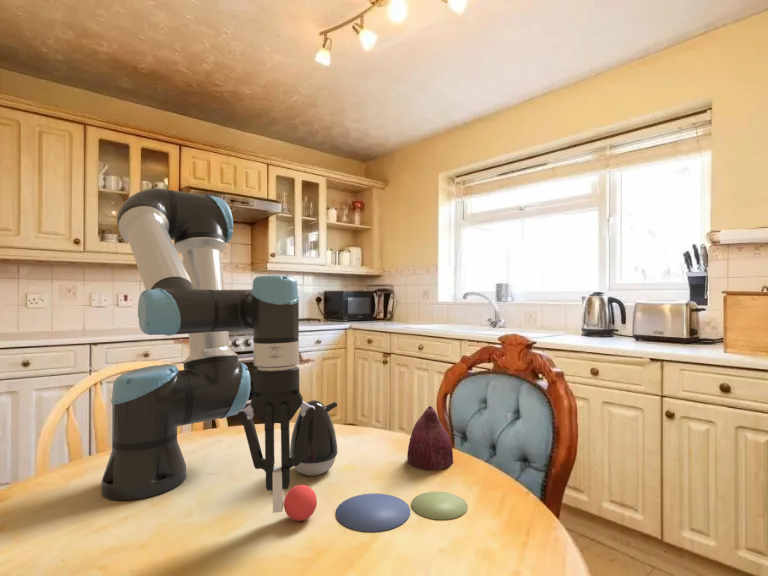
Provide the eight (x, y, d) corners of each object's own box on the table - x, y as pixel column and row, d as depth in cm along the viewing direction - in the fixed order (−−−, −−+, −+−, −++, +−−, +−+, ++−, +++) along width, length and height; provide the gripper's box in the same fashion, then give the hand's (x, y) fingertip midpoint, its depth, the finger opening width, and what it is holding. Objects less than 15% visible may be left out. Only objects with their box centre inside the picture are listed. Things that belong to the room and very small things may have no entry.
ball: (280, 496, 70) (314, 491, 71) (283, 481, 75) (315, 477, 76) (284, 530, 70) (318, 524, 71) (286, 512, 75) (318, 507, 76)
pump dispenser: (344, 475, 90) (343, 403, 91) (294, 484, 87) (294, 408, 87) (331, 459, 100) (331, 393, 100) (286, 465, 96) (286, 397, 96)
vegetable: (450, 486, 92) (457, 424, 88) (402, 476, 94) (408, 415, 91) (453, 456, 102) (460, 400, 98) (410, 448, 104) (416, 392, 101)
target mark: (338, 535, 68) (338, 534, 68) (333, 497, 81) (333, 496, 81) (418, 527, 70) (418, 526, 70) (401, 491, 83) (401, 490, 83)
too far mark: (419, 522, 72) (419, 521, 72) (406, 495, 81) (406, 494, 81) (476, 516, 73) (476, 515, 73) (456, 490, 83) (456, 489, 83)
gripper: (232, 372, 68) (233, 523, 67) (315, 368, 70) (317, 515, 69) (240, 365, 75) (242, 501, 75) (315, 362, 77) (317, 495, 77)
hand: (278, 508), depth 72 cm, fingers closed
